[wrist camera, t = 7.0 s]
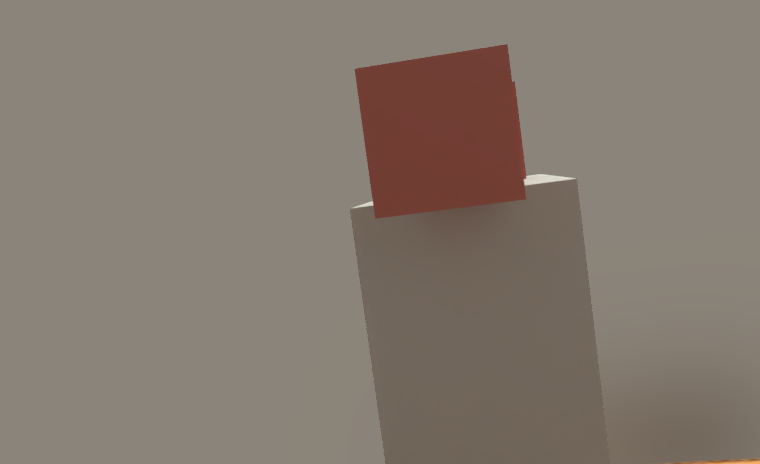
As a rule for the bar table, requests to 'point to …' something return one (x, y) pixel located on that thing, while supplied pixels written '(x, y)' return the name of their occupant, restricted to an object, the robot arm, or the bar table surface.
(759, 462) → the bar table surface
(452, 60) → the red stepped block
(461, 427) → the pedestal
